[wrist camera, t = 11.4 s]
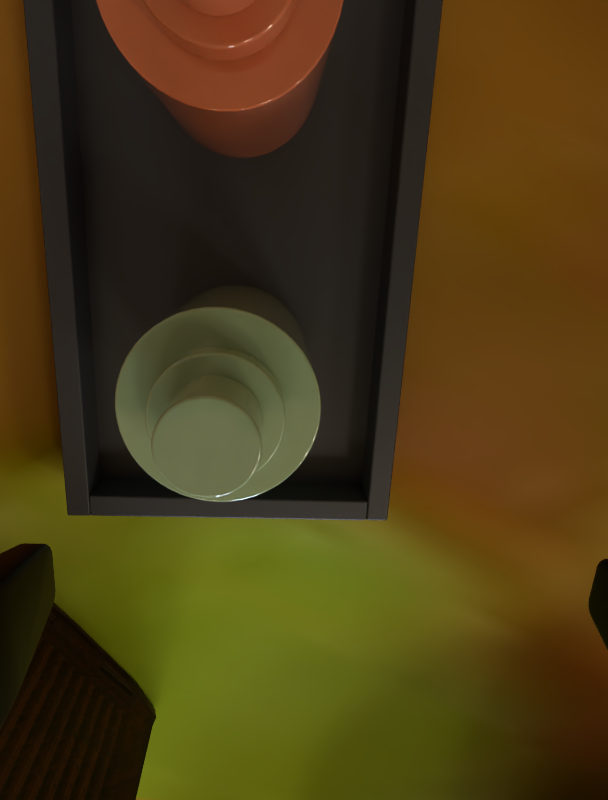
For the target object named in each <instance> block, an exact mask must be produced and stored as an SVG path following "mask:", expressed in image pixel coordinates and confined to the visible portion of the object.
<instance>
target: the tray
mask: <svg viewBox="0 0 608 800" xmlns="http://www.w3.org/2000/svg"><path fill="white" fill-rule="evenodd" d="M442 2H443V0H344V2H343V6H342V11H341V15H340V19H339V22H338V26H337V29H336V32H335V36H334V39H333V42H332V46H331V49H330V52H329V56H328V59H327V62H326V66H325V69H324V72H323V76H322V79H321V83H320V86H319V89H318V93H317V96H316V99H315V102H314V105H313V108H312V110H311V112H310V114H309V116H308V118H307V120H306V121H305V123H304V124H303V126H302V127H301V129H300V130H299V131H298V132H297V133H296V134H295V135H294V136H293V137H292V138H291V139H290V140H289V141H288V142H287V143H285V144H284V145H282V146H281V147H279V148H278V149H276V150H273V151H271V152H269V153H266V154H263V155H260V156H255V157H242V158H238V157H231V156H226V155H222V154H219V153H216V152H214V151H211V150H209V149H207V148H206V147H204V146H202V145H201V144H199V143H198V142H196V141H195V140H194V139H193V138H191V137H190V136H189V135H188V134H187V133H186V132H185V131H184V130H183V129H182V127H181V126H180V125H179V124H178V123H177V121H176V120H175V119H174V118H173V116H172V115H171V114H170V113H169V112H168V110H167V109H166V108H165V107H164V105H163V104H162V103H161V102H160V100H159V99H158V98H157V97H156V96H155V94H154V93H153V92H152V91H151V89H150V88H149V87H148V86H147V84H146V83H145V82H144V81H143V80H142V78H141V77H140V76H139V75H138V73H137V72H136V71H135V70H134V68H133V67H132V66H131V65H130V63H129V62H128V61H127V60H126V58H125V57H124V56H123V54H122V53H121V52H120V51H119V49H118V47H117V46H116V44H115V42H114V41H113V39H112V37H111V36H110V34H109V32H108V30H107V28H106V26H105V23H104V21H103V19H102V17H101V14H100V11H99V8H98V5H97V2H96V0H24V12H25V23H26V35H27V47H28V58H29V70H30V82H31V93H32V105H33V117H34V128H35V140H36V151H37V163H38V175H39V186H40V198H41V210H42V221H43V233H44V245H45V256H46V268H47V280H48V291H49V303H50V314H51V326H52V338H53V349H54V361H55V373H56V384H57V396H58V408H59V419H60V431H61V443H62V454H63V466H64V477H65V489H66V501H67V512H68V515H90V514H91V515H103V516H160V517H217V518H274V519H331V520H365V519H367V520H387V515H388V506H389V497H390V487H391V478H392V469H393V459H394V450H395V441H396V431H397V422H398V413H399V403H400V394H401V385H402V375H403V366H404V357H405V347H406V338H407V329H408V319H409V310H410V301H411V291H412V282H413V273H414V263H415V254H416V245H417V235H418V226H419V217H420V207H421V198H422V189H423V179H424V170H425V161H426V151H427V142H428V133H429V123H430V114H431V105H432V95H433V86H434V77H435V67H436V58H437V49H438V39H439V30H440V21H441V11H442ZM223 285H246V286H250V287H254V288H258V289H260V290H263V291H265V292H267V293H269V294H271V295H272V296H274V297H275V298H277V299H278V300H279V301H281V302H282V303H283V304H284V305H285V306H286V307H287V308H288V309H289V310H290V312H291V313H292V314H293V315H294V317H295V319H296V320H297V322H298V324H299V326H300V328H301V331H302V333H303V337H304V340H305V343H306V346H307V349H308V353H309V356H310V359H311V362H312V365H313V369H314V372H315V375H316V378H317V382H318V385H319V390H320V398H321V416H320V424H319V428H318V432H317V435H316V438H315V441H314V443H313V445H312V448H311V450H310V451H309V453H308V455H307V456H306V458H305V459H304V461H303V462H302V463H301V465H300V466H299V467H298V468H297V469H296V470H295V471H294V472H293V473H292V474H291V475H290V476H289V477H288V478H287V479H285V480H284V481H283V482H281V483H280V484H279V485H277V486H275V487H274V488H272V489H270V490H268V491H266V492H264V493H262V494H259V495H257V496H254V497H250V498H247V499H243V500H237V501H228V502H214V501H204V500H199V499H194V498H191V497H187V496H184V495H181V494H179V493H177V492H175V491H172V490H170V489H168V488H167V487H165V486H164V485H162V484H160V483H159V482H157V481H156V480H155V479H153V478H152V477H151V476H150V475H148V474H147V473H146V472H145V471H144V470H143V469H142V467H141V466H140V465H139V464H138V463H137V462H136V460H135V459H134V458H133V456H132V455H131V453H130V452H129V450H128V448H127V446H126V445H125V443H124V440H123V438H122V436H121V433H120V430H119V427H118V423H117V419H116V411H115V391H116V384H117V379H118V376H119V373H120V370H121V367H122V365H123V363H124V361H125V359H126V356H127V355H128V353H129V352H130V350H131V349H132V347H133V346H134V344H135V343H136V342H137V341H138V340H139V339H140V338H141V337H142V336H143V334H145V333H146V332H147V331H148V330H149V329H151V328H152V327H153V326H154V325H156V324H157V323H159V322H160V321H161V320H163V319H164V318H166V317H167V316H168V315H170V314H171V313H172V312H174V311H175V310H177V309H178V308H179V307H181V306H182V305H184V304H185V303H186V302H188V301H189V300H191V299H192V298H194V297H195V296H197V295H198V294H200V293H202V292H204V291H206V290H208V289H211V288H214V287H218V286H223Z"/></svg>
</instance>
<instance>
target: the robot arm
mask: <svg viewBox="0 0 608 800" xmlns="http://www.w3.org/2000/svg"><path fill="white" fill-rule="evenodd" d="M54 597H55V581H54V569H53V558H52V551H51V549H50V547H49V546H48V545H46V544H26V543H24V544H20V545H18V546H15V547H13V548H11V549H9V550H7V551H5V552H3V553H1V554H0V729H1V727H2V725H3V723H4V721H5V719H6V717H7V715H8V713H9V711H10V709H11V707H12V705H13V703H14V701H15V699H16V697H17V694H18V692H19V690H20V687H21V685H22V682H23V680H24V677H25V675H26V672H27V670H28V667H29V665H30V662H31V659H32V657H33V654H34V652H35V649H36V647H37V644H38V641H39V639H40V636H41V634H42V631H43V629H44V626H45V624H46V621H47V618H48V616H49V613H50V611H51V608H52V605H53V602H54ZM589 611H590V614H591V617H592V619H593V621H594V623H595V625H596V627H597V629H598V631H599V633H600V635H601V637H602V639H603V641H604V643H605V645H606V647H607V649H608V559H604V560H602V561H600V563H599V564H598V566H597V569H596V573H595V577H594V581H593V585H592V589H591V593H590V597H589Z"/></svg>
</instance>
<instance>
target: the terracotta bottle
mask: <svg viewBox="0 0 608 800" xmlns="http://www.w3.org/2000/svg"><path fill="white" fill-rule="evenodd" d="M96 2H97V5H98V8H99V11H100V14H101V17H102V19H103V21H104V23H105V26H106V28H107V30H108V32H109V34H110V36H111V37H112V39H113V41H114V42H115V44H116V46H117V47H118V49H119V51H120V52H121V53H122V54H123V56H124V57H125V58H126V60H127V61H128V62H129V63H130V65H131V66H132V67H133V68H134V70H135V71H136V72H137V73H138V75H139V76H140V77H141V78H142V80H143V81H144V82H145V83H146V84H147V86H148V87H149V88H150V89H151V91H152V92H153V93H154V94H155V96H156V97H157V98H158V99H159V100H160V102H161V103H162V104H163V105H164V107H165V108H166V109H167V110H168V112H169V113H170V114H171V115H172V116H173V118H174V119H175V120H176V121H177V123H178V124H179V125H180V126H181V127H182V129H183V130H184V131H185V132H186V133H187V134H188V135H189V136H190V137H191V138H193V139H194V140H195V141H196V142H198V143H199V144H201V145H202V146H204V147H206V148H207V149H209V150H211V151H214V152H216V153H219V154H222V155H226V156H231V157H238V158H242V157H255V156H260V155H263V154H266V153H269V152H271V151H273V150H276V149H278V148H279V147H281V146H282V145H284V144H285V143H287V142H288V141H289V140H290V139H291V138H292V137H293V136H294V135H295V134H296V133H297V132H298V131H299V130H300V129H301V127H302V126H303V124H304V123H305V121H306V120H307V118H308V116H309V114H310V112H311V110H312V108H313V105H314V102H315V99H316V96H317V93H318V89H319V86H320V83H321V79H322V76H323V72H324V69H325V66H326V62H327V59H328V56H329V52H330V49H331V46H332V42H333V39H334V36H335V32H336V29H337V26H338V22H339V19H340V15H341V11H342V6H343V2H344V0H96Z"/></svg>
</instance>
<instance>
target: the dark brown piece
mask: <svg viewBox="0 0 608 800" xmlns="http://www.w3.org/2000/svg"><path fill="white" fill-rule="evenodd" d="M155 719H156V714H155V709H154V707H153V706H152V704H151V703H150V701H149V700H148V698H147V697H146V696H145V694H144V693H143V691H142V690H141V688H140V687H139V685H138V684H137V683H136V682H135V681H134V680H133V679H132V678H131V677H130V676H129V675H128V674H127V673H126V672H125V671H124V670H123V669H122V668H121V667H120V666H119V665H118V664H117V663H116V662H115V661H114V660H113V659H112V658H111V657H110V656H109V655H108V654H107V653H106V652H105V651H104V650H103V649H102V648H101V647H100V646H98V645H97V644H96V643H95V642H94V641H93V640H92V639H91V638H90V637H89V636H88V635H87V634H86V633H85V632H84V631H83V630H82V629H81V628H80V627H79V626H78V625H77V624H76V623H75V622H74V621H73V620H72V619H70V618H69V617H68V616H67V615H66V614H65V613H64V612H62V611H61V610H60V609H59V608H58V607H57V606H56V605H55V604H53V605H52V608H51V611H50V613H49V616H48V618H47V621H46V624H45V626H44V629H43V631H42V634H41V636H40V639H39V641H38V644H37V647H36V649H35V652H34V654H33V657H32V659H31V662H30V665H29V667H28V670H27V672H26V675H25V677H24V680H23V682H22V685H21V687H20V690H19V692H18V694H17V697H16V699H15V701H14V703H13V705H12V707H11V709H10V711H9V713H8V715H7V717H6V719H5V721H4V723H3V725H2V727H1V729H0V800H136V795H137V791H138V787H139V782H140V778H141V773H142V769H143V765H144V760H145V756H146V752H147V747H148V743H149V738H150V734H151V730H152V726H153V723H154V721H155Z"/></svg>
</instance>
